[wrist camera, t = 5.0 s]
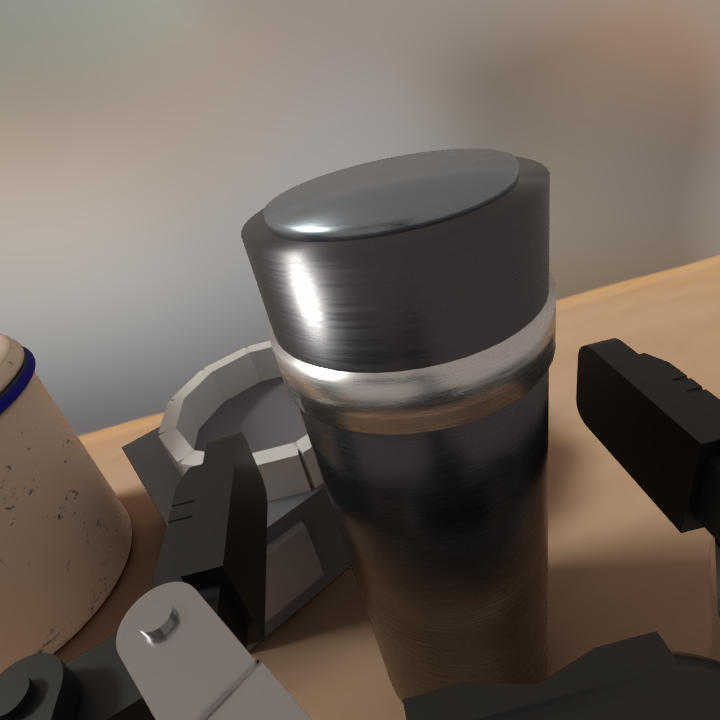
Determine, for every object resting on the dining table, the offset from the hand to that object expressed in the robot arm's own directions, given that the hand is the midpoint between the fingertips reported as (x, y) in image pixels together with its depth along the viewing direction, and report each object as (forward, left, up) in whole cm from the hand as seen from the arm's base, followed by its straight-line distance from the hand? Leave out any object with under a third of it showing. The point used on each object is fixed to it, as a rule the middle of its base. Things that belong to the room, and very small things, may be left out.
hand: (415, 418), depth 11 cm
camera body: (-1, +7, -8) cm, 11 cm away
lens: (-1, -1, -8) cm, 8 cm away
